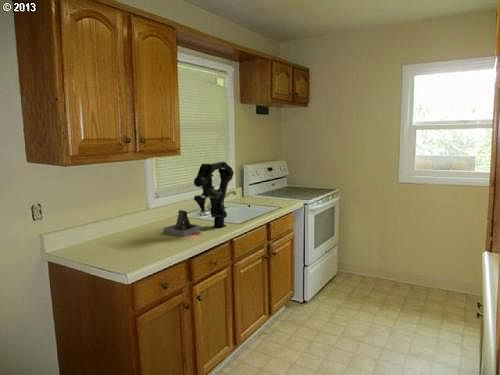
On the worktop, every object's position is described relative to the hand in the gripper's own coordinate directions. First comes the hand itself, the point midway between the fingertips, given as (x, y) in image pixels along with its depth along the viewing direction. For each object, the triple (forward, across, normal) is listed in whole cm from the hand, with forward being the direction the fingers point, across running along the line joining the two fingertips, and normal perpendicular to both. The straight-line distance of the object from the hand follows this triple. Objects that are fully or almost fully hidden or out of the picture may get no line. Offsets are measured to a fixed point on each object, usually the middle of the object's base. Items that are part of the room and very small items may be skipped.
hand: (208, 210), depth 220 cm
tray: (+13, -8, +14) cm, 21 cm away
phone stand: (+12, -8, +14) cm, 20 cm away
